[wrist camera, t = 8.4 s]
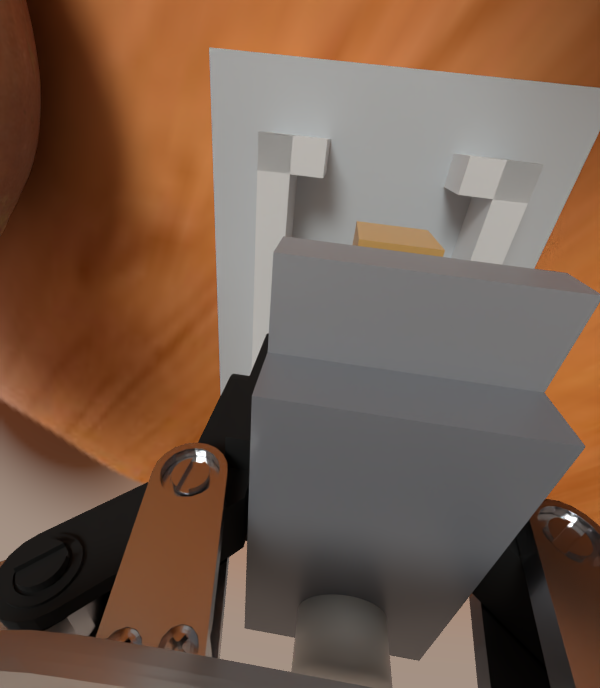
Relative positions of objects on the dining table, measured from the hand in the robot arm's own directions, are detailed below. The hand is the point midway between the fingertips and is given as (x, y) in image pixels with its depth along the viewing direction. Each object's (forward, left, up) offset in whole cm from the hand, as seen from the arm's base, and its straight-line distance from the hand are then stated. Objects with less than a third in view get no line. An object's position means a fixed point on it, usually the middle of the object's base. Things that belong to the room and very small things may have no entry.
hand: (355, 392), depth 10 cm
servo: (0, 0, 0) cm, 0 cm away
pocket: (0, 0, -6) cm, 6 cm away
